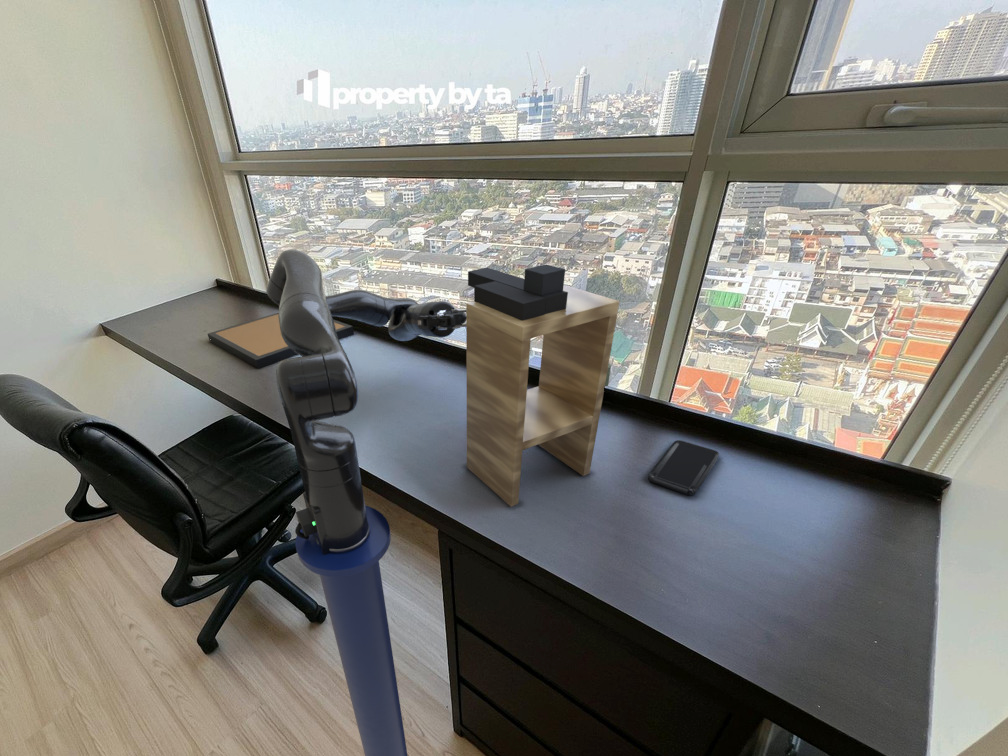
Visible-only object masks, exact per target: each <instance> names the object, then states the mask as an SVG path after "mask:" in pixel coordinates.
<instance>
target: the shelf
mask: <svg viewBox="0 0 1008 756" xmlns="http://www.w3.org/2000/svg"><path fill="white" fill-rule="evenodd" d="M563 291H565V292H568V296H567V305H566V309H563V310H559V311H555V312H552V313H548V314H545V315H542V316H538V317H534V318H531V319H527V320H523V321H522V320H519V319H517V318H514V317H512V316H509V315H507V314H505V313H502V312H500V311H497V310H495V309H492V308H490V307H488V306H485V305H483V304H480V303H478V302H476V301H474V300H473V301H469V302H466V303H465V304H466V309H465V310H466V312H465V314H466V315H467V316H466V322H465V324H466V327H465V328H466V336H465V337H466V345H465V346H466V347H465V348H466V468H467V469H469V470H470V472H472V473H473V474H474V475H475V476H476V477H477V478H478V479H479V480H481V481H482V482H483V484H485V485H486V486H487V487H488V488H489V489H490V490H491V491H493V492H494V493H495V494H496V495H497V496H498V497H500V498H501V499H502V501H504V502H505V503H506V505H508V506H509V507H515V506H516V505H518V504H519V501H520V500H519V498H520V488H521V487H520V485H521V476H522V475H521V472H522V462H523V461H522V459H523V451H524V450H527V449H530V448H533V447H535V446H539V447H541V448H542V449H543V450H544V451H546V452H548V453H549V454H551V455H552V456H553V457H555V458H556V459H558V460H559V461H560V462H562V463H564V464H565V465H566V466H567V467H569V468H571V469H572V470H573V471H575V472H577V473H578V474H580V475H581V476H582V477H584V476H587V475H590V473H591V468H592V461H593V456H594V451H595V445H596V439H597V434H598V428H599V421H600V415H601V411H602V405H603V399H604V393H605V391H604V388H605V382H606V376H607V371H608V365H609V364H610V358H611V355H612V354H611V353H612V349H613V348H612V347H613V342H614V336H615V330H616V324H617V319H618V313H619V307H620V300H618V299H615V298H611V297H607V296H604V295H600V294H597V293H594V292H590V291H586V290H583V289H580V288H576V287H573V286H570V285H567V284H564V286H563ZM540 336H542V347H541V356H540V357H541V358H540V368H539V380H538V386H534V387H532V388H529V389H528V379H529V367H530V353H531V340H532V339H534V338H538V337H540Z"/></svg>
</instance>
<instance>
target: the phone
mask: <svg viewBox="0 0 1008 756" xmlns="http://www.w3.org/2000/svg"><path fill="white" fill-rule="evenodd" d="M719 456H720V453H719V451H717V450H716V449H715V450H714V449H712V448H709V447H706V446H702V445H698V444H694V443H692V442H688V441H685V440H681V439H676V440H675V441H673V442H672V444H671V445H670V446H669V448H668V449H667V450H666V451H665V453H664V454H663V455H662V457H661V458H660V459H659V461H658V462H657V463H656V464H655V466H654V467H652V469H651V471H650V472H649V474H648V481H649V482H651V483H652V484H654V485H655V484H656V485H657V486H661V487H664V488H666V489H669V490H672V491H675V492H677V493H680V494H683V495H686V496H695V495H696V494H697V492H698V491H699V489H700V487H702V485H703V483H704V482H705V480H706V479H707V477H708V476H709V474H710V472H711V470H712V469H713V467H714V466H715V464H716V463H717V461H718V459H719Z"/></svg>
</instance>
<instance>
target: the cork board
mask: <svg viewBox="0 0 1008 756" xmlns="http://www.w3.org/2000/svg"><path fill="white" fill-rule="evenodd" d="M333 320H334V324H335V328H336V332H337V336H338V339H339V341H340V340H342V339H345V338H349V337H352V336H353V335H355V331H354V326H353V325H350V324H349V323H345V322H341V321H339V320H336V319H333ZM207 337H208V340H209V343H212V344H213V345H215V346H216V347H218V348H220V349H223V350H224V351H225V352H227V353H229V354H231V355H232V356H235V357H236V358H238V359H239V360H242V361H244V362H245V363H247V364H249V365H251V366H252V367H254V368H256V369H259V370H260V369H262V368H264V367H267V366H270V365H273V364H276V363H280V362H281V361H282V360H285V359H290V358H294V357H295V356H298V355H299V354H297V353H296V352H294V351H293V350H292V349H290V348H289V346H288V345H287V344H286V343H285V341H284V340H283V338H282V335H281V331H280V324H279V312H275V313H273V314H268V315H265V316H262V317H259V318H255V319H252V320H248V321H246V322H242V323H239V324H235V325H232V326H227V327H225V328H222V329H218V330H216V331H212V332H211V331H210V332H209V333H208V332H207ZM210 339H211V340H210Z"/></svg>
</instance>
